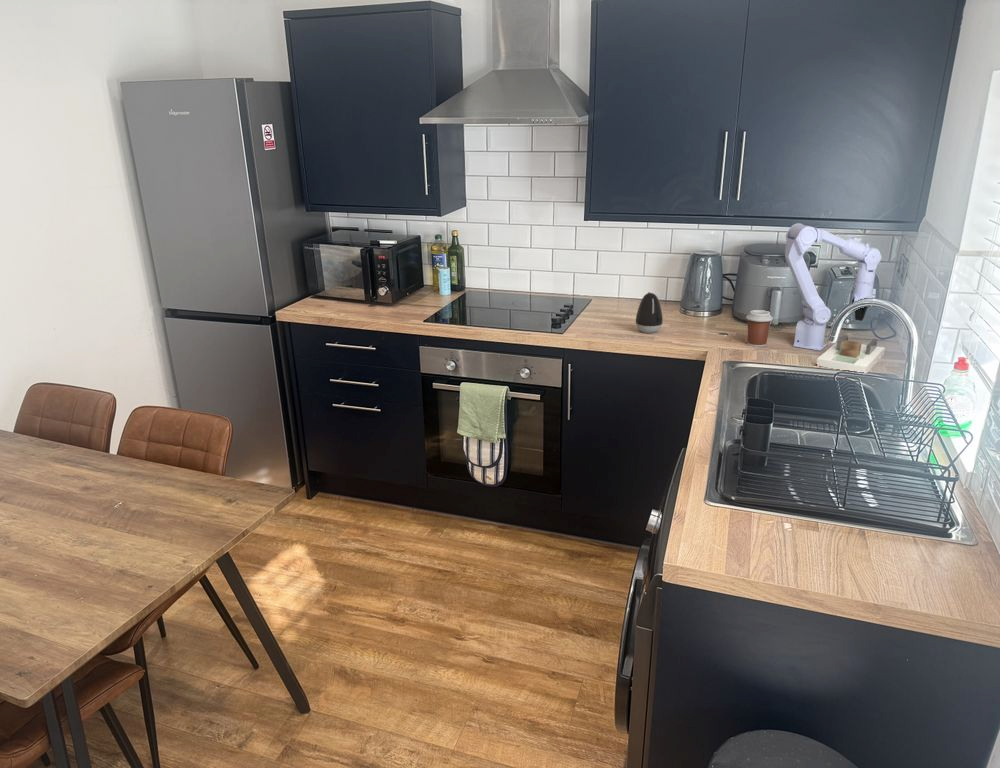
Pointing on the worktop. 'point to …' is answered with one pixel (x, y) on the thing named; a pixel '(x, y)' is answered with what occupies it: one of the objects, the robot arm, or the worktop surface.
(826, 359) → the channel board
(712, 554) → the worktop surface
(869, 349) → the channel walls
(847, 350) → the walnut block
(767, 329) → the coffee cup
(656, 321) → the black and white egg-shape
